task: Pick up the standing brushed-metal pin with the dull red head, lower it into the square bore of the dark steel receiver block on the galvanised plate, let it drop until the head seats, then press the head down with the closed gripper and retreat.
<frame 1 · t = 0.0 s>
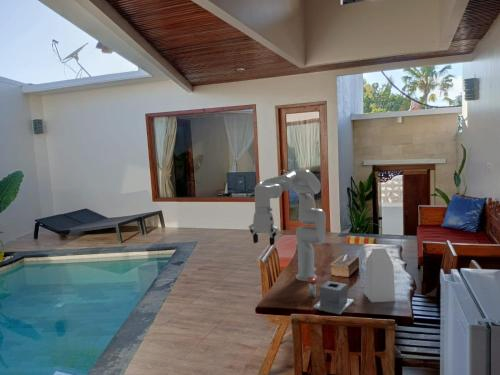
hand: (263, 243, 196), 31 cm above the table, fingers open, 9 cm apart
pin: (312, 296, 207), on the table
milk: (379, 297, 203), on the table
receiver: (333, 304, 195), on the table
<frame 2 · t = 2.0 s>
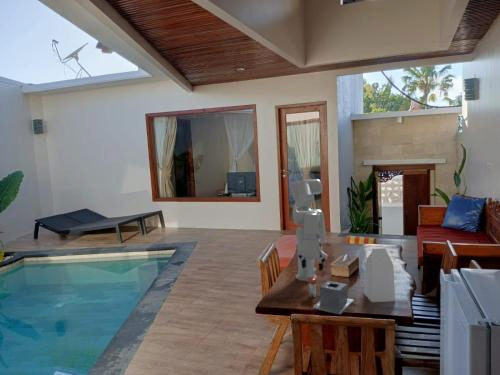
hand: (312, 268, 205), 15 cm above the table, fingers open, 9 cm apart
nothing on the table moved.
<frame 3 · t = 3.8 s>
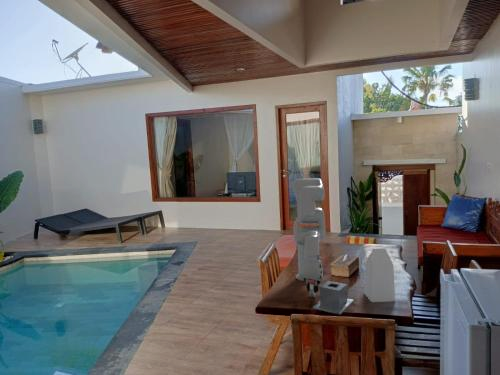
hand: (312, 291, 207), 3 cm above the table, fingers closed on pin, 3 cm apart
pin: (312, 296, 207), on the table, touching gripper
everything else where it was.
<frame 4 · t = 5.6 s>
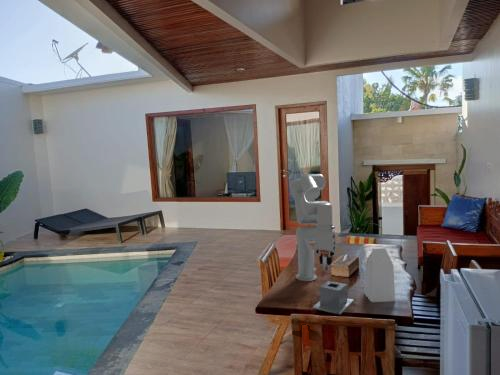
hand: (325, 263, 197), 20 cm above the table, fingers closed on pin, 3 cm apart
pin: (325, 269, 197), point 17 cm above the table, touching gripper
everything else where it was.
when the fingers open (11 cm above the table, at t = 7.9 s): pin stays where it is, point 7 cm above the table.
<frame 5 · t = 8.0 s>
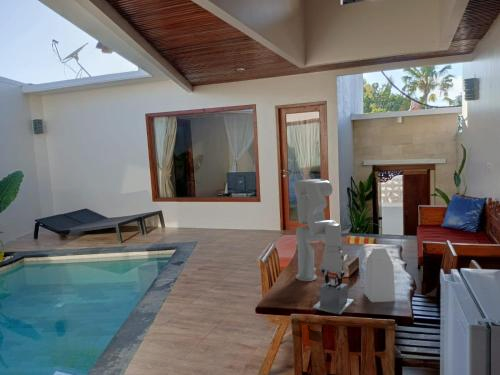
hand: (333, 283, 194), 11 cm above the table, fingers open, 5 cm apart
pin: (333, 291, 194), point 7 cm above the table
everything else where it was.
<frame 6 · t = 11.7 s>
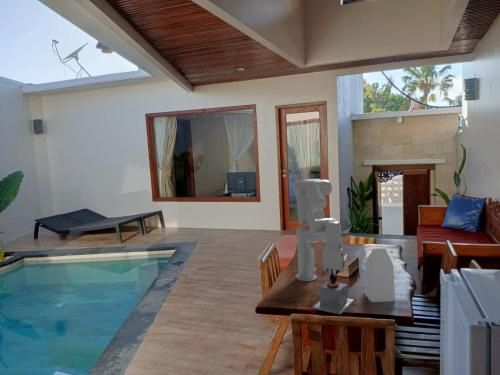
hand: (333, 282, 194), 12 cm above the table, fingers closed
pin: (333, 301, 195), point 2 cm above the table, touching receiver
everything else where it was.
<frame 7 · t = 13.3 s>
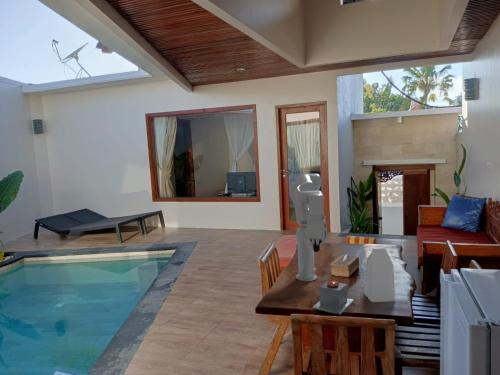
hand: (316, 251, 205), 24 cm above the table, fingers closed
nothing on the table moved.
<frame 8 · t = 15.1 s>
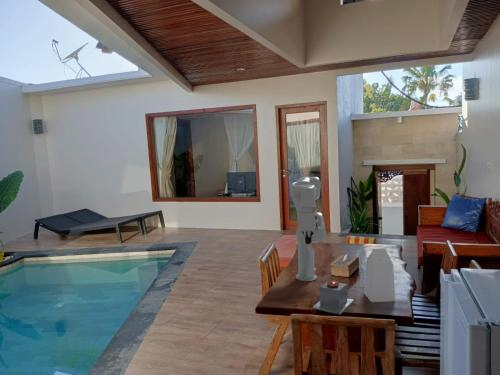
hand: (308, 243, 210), 27 cm above the table, fingers closed
nothing on the table moved.
at the end: pin 0.3 cm off-centre on the receiver, point 2.0 cm above the receiver's base; pin tilted 0°; the gripper is holding nothing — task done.
